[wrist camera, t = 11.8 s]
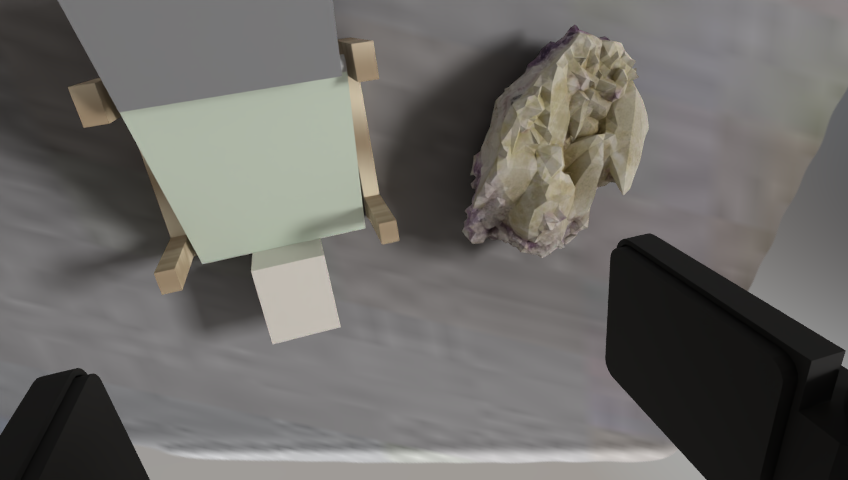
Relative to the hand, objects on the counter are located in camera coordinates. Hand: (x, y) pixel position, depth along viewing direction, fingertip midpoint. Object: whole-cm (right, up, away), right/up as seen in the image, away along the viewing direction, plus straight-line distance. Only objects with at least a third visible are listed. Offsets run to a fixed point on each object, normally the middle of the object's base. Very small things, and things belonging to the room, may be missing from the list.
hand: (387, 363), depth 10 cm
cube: (-9, +2, +29) cm, 30 cm away
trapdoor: (-10, +11, +23) cm, 28 cm away
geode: (+10, +10, +34) cm, 37 cm away
